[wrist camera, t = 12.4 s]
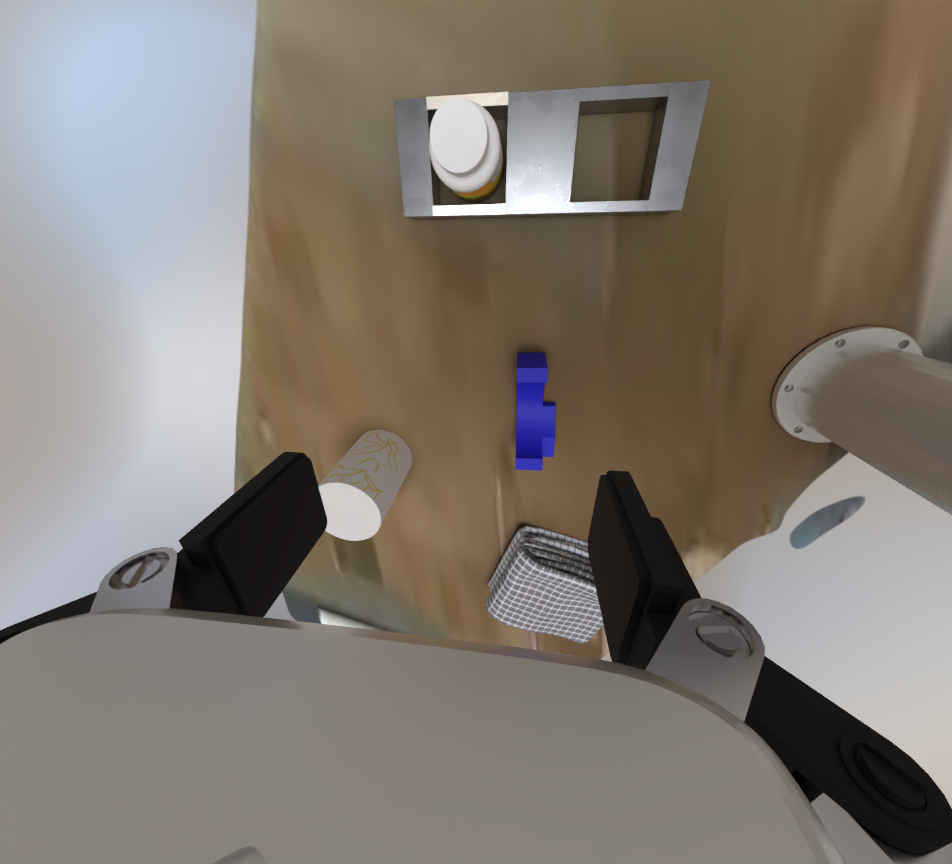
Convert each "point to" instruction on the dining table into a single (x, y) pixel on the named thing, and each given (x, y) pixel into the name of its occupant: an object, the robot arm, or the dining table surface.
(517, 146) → the metal bottle holder tray
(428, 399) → the dining table surface
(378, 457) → the cup
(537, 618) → the towel
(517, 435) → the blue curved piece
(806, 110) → the dining table surface
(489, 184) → the supplement bottle
